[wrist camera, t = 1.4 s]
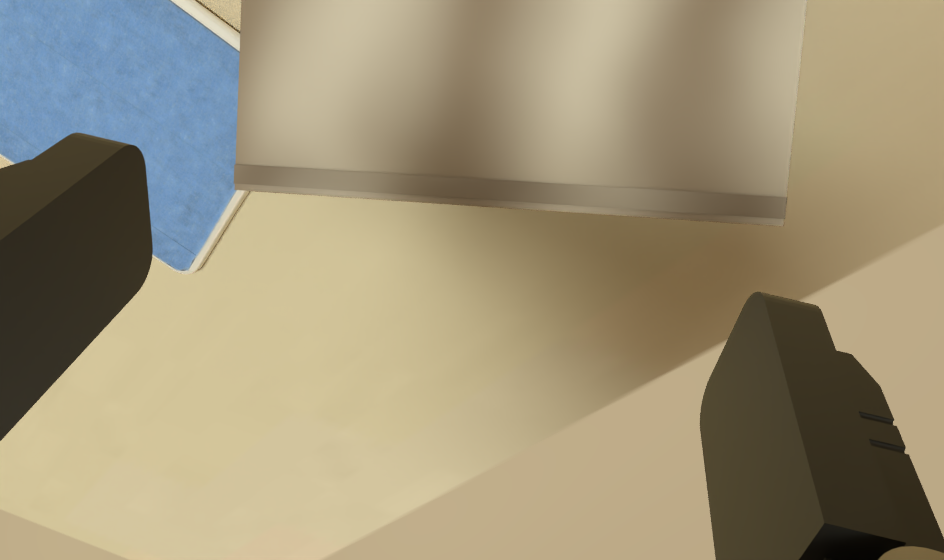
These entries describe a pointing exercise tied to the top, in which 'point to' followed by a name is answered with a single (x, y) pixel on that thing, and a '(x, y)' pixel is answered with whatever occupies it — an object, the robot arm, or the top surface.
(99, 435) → the top surface
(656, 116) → the plank
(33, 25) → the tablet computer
